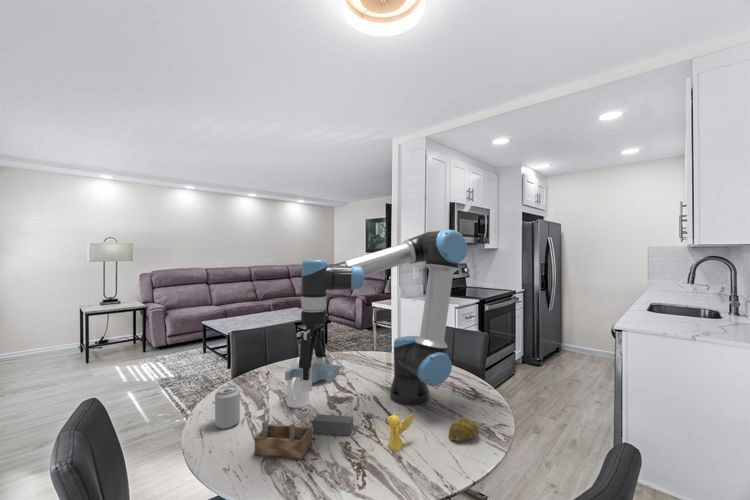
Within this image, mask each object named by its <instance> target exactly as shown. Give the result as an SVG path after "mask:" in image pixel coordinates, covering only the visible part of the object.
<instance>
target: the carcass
mask: <svg viewBox="0 0 750 500" xmlns="http://www.w3.org/2000/svg"><path fill="white" fill-rule="evenodd" d="M312 446H313V427H307V426H298V425H295V424H294V423H293V424H292V423H291V424H289V425H285V424H281V425H280V424H270V423H268V422H267V421H266V422H262V429H261V431H260V432H258V433H257V435H255V437H254V456H256V457H257V456H258V457H266V458H267V457H269V458H277V459H278V458H279V459H286V460H287V459H289V460H297V461H303V460H304V458H305V457H306V455H307V453H309V450H310V449H311V447H312Z"/></svg>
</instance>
